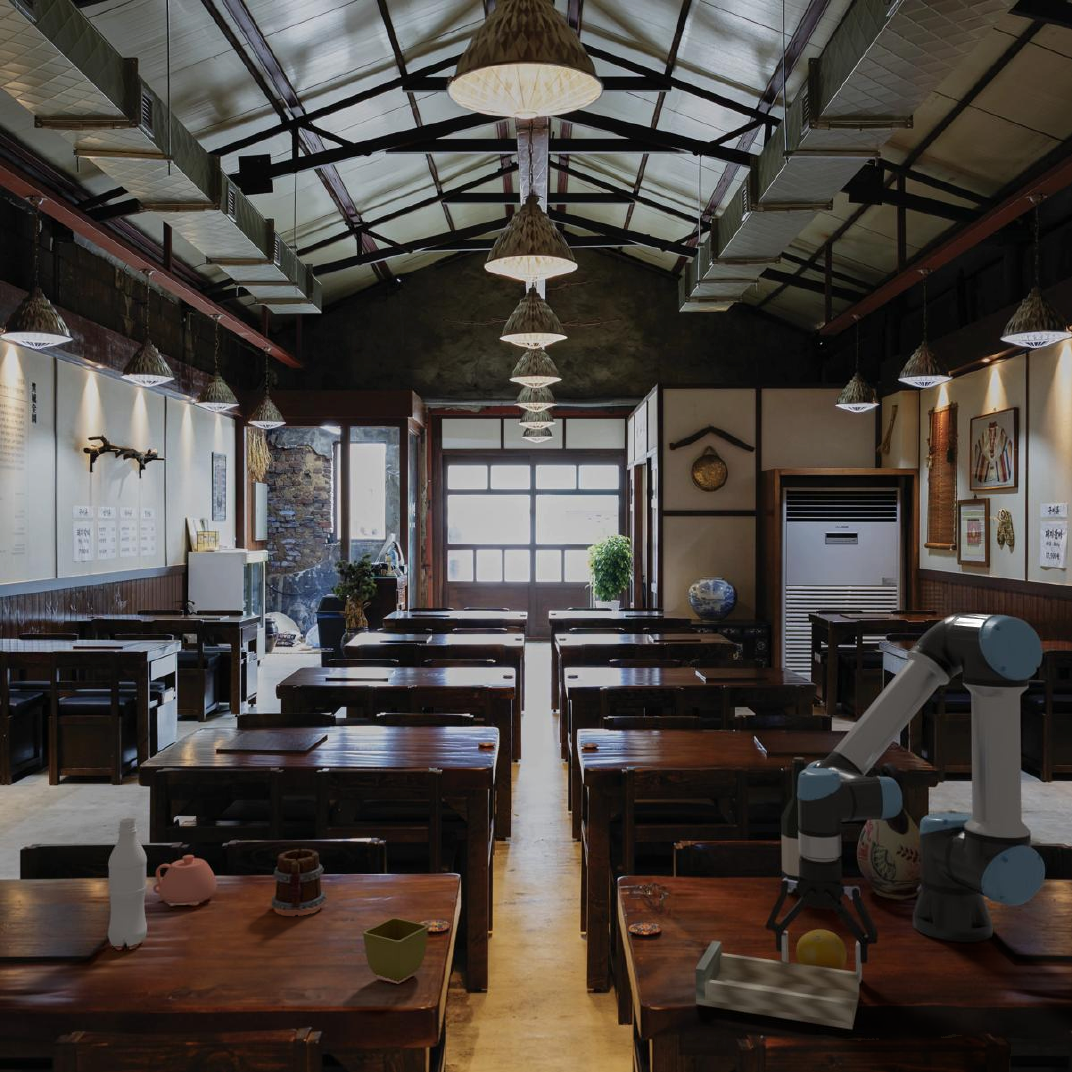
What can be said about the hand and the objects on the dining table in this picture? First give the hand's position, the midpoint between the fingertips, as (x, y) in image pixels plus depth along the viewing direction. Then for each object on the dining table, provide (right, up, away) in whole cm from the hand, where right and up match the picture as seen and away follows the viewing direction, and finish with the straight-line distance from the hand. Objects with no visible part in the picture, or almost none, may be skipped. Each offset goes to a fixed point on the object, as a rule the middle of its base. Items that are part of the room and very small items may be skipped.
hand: (821, 974), depth 182 cm
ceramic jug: (+29, -1, +43) cm, 52 cm away
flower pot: (-78, -1, +1) cm, 78 cm away
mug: (-104, -2, +36) cm, 110 cm away
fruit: (0, 0, 0) cm, 0 cm away
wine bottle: (+9, -1, +47) cm, 48 cm away
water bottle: (-133, -2, +17) cm, 135 cm away
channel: (-10, 0, -10) cm, 14 cm away
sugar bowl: (-131, -3, +43) cm, 138 cm away
